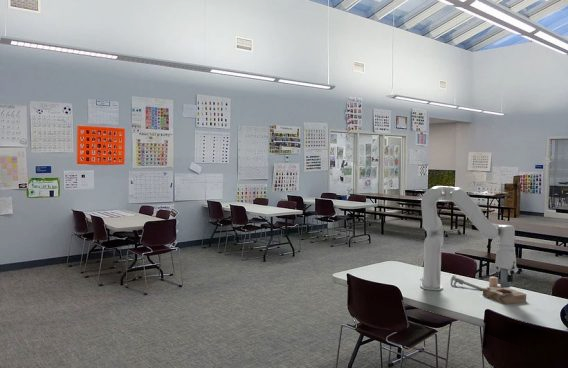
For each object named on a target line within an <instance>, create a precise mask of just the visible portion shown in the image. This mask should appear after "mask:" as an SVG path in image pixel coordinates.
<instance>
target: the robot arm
mask: <svg viewBox="0 0 568 368" xmlns="http://www.w3.org/2000/svg"><path fill="white" fill-rule="evenodd" d="M439 201H446V202H450V201H451V202H452V203H453V204H454V205H455V206H456V207H457V208H458V209H459V210H460V211H461V212H462V213H463V214H464V215H465V217H467V218H468V220H469V221H470V222H471V223H472V224H473V226H474V227H475V228H476V229H477V230H478V231H479V232H480V233H481V234H482V235H483V236H484V237H485V238H487V239H488V240H489V239H490V240H494V239H496V238H497V237H498V244H497V247H498V248H497V250H496V255H495V263H494V266H495V267H496V269H497V272H498V280H501V268H503V269H507V270H508V274H509V275H508V276H507V282H511V283H513V280H514V275H515V274H516V273H517V272H518V271H519V268H518V267H517V255H516V251H515V238H516V237H515V233H516V232H515V230H516V229H515V226H514V225H511V224H498V223H494V222H493V223H492V222H491V221H490V220H489V219H488V218H487V217H486V215H485V214H484V212H483V210H482V209H481V207H480V206H479V205H478V204H477V203H476V202H475V201H474V200H473V198H471V196H470V195H468V193H467V191H466V189H465V188H462V187H456V186H445V185H444V186H443V185H436V186H432V187H431V188H429V189H427V190H426V191H425V192H424V193H423V195H422V196H421V201H420V204H421V205H420V206H421V216H422V218H421V219H422V227H423V229H424V230H425V232H426V237H425V239H424V242H423V273H422V274H423V276H422V277H421V278H419V281H421V282H422V283H421V284H420V286H419V287H420V288H422V289H424V290H427V291H433V292H434V291H441V290H443V289H444V287H443V285H441V269H442V268H441V267H442V246H443V245H444V240H445V239H444V231H443V222H442V219H441V218H440V216H438V209H437V203H438V202H439ZM510 270H511V271H510Z"/></svg>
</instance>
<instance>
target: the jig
mask: <svg viewBox="0 0 568 368" xmlns="http://www.w3.org/2000/svg"><path fill="white" fill-rule="evenodd" d="M482 288H483V291H482V296H484V297H487V298H489V299H492V300H494V301H497V302H500V303H503V304H504V305H511V304H512V305H513V304H517V303H524V302H527V294H526V293H524V292H521V291H518V290H516V289H512V288H510V287H509V288H506V287H501V286H500V285H498V286H497V287H489V286H487V287H482Z"/></svg>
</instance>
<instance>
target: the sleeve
mask: <svg viewBox="0 0 568 368" xmlns="http://www.w3.org/2000/svg"><path fill="white" fill-rule="evenodd" d="M510 271H511V270H510ZM508 275H509V274H508V270H507V269H503V268H501V279H500V280H499V281H500V285H499V286H501V287H506V288H509V289H510V288H511V284H512V282H507V276H508Z"/></svg>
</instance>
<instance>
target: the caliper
mask: <svg viewBox="0 0 568 368" xmlns="http://www.w3.org/2000/svg"><path fill="white" fill-rule="evenodd" d="M456 276H457V275H454V274H453V275H452V276H451V279H450V285H453V286H455V285H456V284H457V283H458V284H459V285H465V286H468V287H471V288H473V289H477V290H479V291H482V292H483V288H484V287H481V286H479V285H476V284H473V283H470V282H467V281H465V280H464V279H462V278H458V277H456Z"/></svg>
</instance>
